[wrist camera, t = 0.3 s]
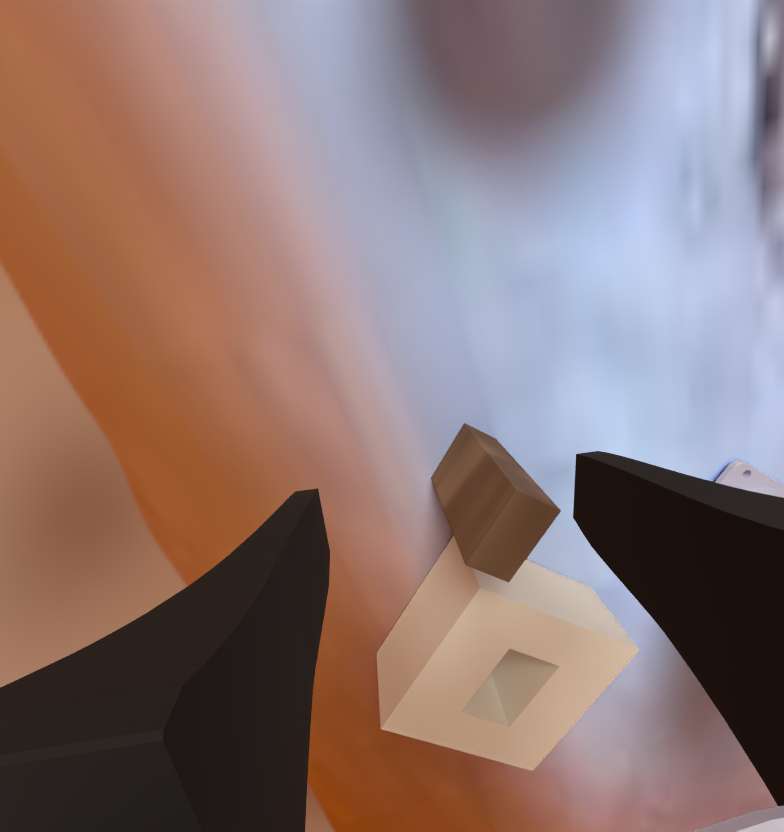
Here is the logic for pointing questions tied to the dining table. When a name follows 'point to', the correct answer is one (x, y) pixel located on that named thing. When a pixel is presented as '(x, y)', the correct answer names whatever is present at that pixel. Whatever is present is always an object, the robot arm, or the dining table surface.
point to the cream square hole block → (497, 660)
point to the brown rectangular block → (491, 504)
